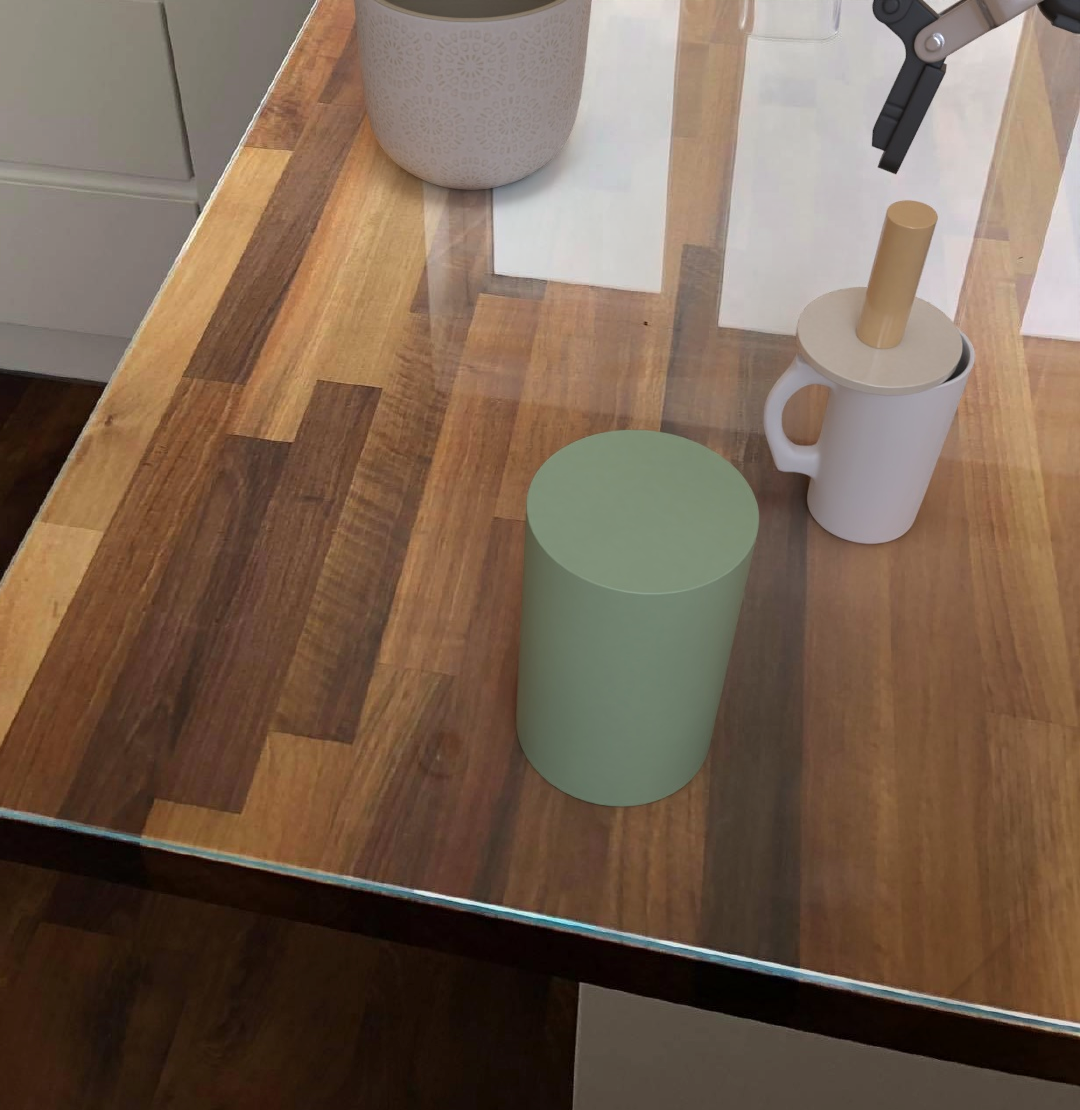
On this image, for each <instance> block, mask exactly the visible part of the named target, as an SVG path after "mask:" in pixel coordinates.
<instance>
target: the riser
mask: <svg viewBox="0 0 1080 1110" xmlns="http://www.w3.org/2000/svg"><path fill="white" fill-rule="evenodd" d="M524 519H525V522H524V540H523V541H524V543H523V562H522V565H523V566H522V583H521V605H520V625H519V648H518V649H519V650H518V667H517V689H516V690H517V691H516V709H515V710H516V712H515V729H516V733H517V739H518V741H519V744H520V747H521V750H522V752H523V754H524V755H525V757H526V759H527V760H528V762H529V763H530V765H531V766H532V767H533V768H534V770H535V771H536V772H537V773H538V774H539V775H540V776H541V777H542V778H543V779H544V780H545V781H547V782H548V783H549V784H550V785H552V786H553V787H555V788H556V789H558V790H559V791H560V792H563V793H565V794H567V795H568V796H571V797H573V798H576V799H578V800H581V801H584V802H585V803H586V802H587V803H591V804H595V805H599V806H608V807H635V806H642V805H646V804H651V803H654V802H657V801H660V800H663V799H665V798H667V797H669V796H671V795H674V794H675V793H676V792H678V791H680V790H681V789H683V788H684V787H685V786H686V785H687V784H689V782H690V781H692V780H693V779H694V777H695V776H696V775H697V774H698V773H699V772H700V770H701V769H702V767H703V765H704V763H705V762H706V759H707V756H708V754H709V751H710V747H711V742H712V737H713V734H714V730H715V724H716V721H717V715H718V711H719V707H720V703H721V698H722V694H723V690H724V689H723V688H724V684H725V680H726V676H727V671H728V667H729V663H730V658H731V654H732V649H733V644H734V640H735V637H736V633H737V632H736V631H737V627H738V622H739V619H740V614H741V609H742V604H743V600H744V595H745V591H746V587H747V583H748V577H749V574H750V568H751V564H752V560H753V556H754V551H755V547H756V542H757V538H758V533H759V529H760V510H759V506H758V502H757V499H756V496H755V493H754V491H753V489H752V488H751V486H750V484H749V481H747V480H746V478H745V477H744V476H743V475H742V473H741V472H740V471H739V470H738V469H737V468H736V467H735V466H734V465H733V464H732V463H731V462H730V461H728V460H727V459H726V458H725V457H723V456H722V455H721V454H719V453H718V452H716V451H715V450H713V449H711V448H709V447H708V446H705V445H703V444H701V443H699V442H697V441H694V440H691V439H689V438H686V437H684V436H680V435H676V434H673V433H668V432H663V431H658V430H646V429H619V430H608V431H604V432H599V433H595V434H592V435H588V436H584V437H582V438H580V439H577V440H575V441H572V442H570V443H569V444H567V445H565V446H563V447H562V448H560V449H559V450H557V451H556V452H555V453H553V454H552V455H550V457H549V458H547V459H546V460H545V461H544V462H543V463H542V464H541V466H540V467H539V468H538V469H537V471H536V473H535V474H534V476H533V478H532V479H531V481H530V484H529V487H528V490H527V495H526V501H525V518H524Z"/></svg>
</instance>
